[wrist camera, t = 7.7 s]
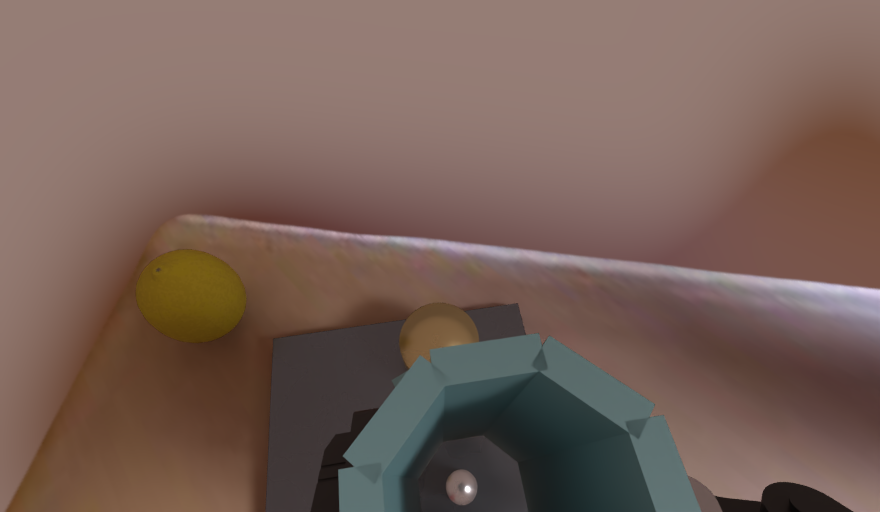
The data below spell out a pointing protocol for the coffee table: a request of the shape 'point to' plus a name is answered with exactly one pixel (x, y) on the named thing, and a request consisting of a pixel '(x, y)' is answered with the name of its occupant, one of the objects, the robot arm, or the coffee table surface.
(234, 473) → the coffee table surface
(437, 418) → the teal octagonal tube
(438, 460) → the carrier plate
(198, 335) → the lemon
